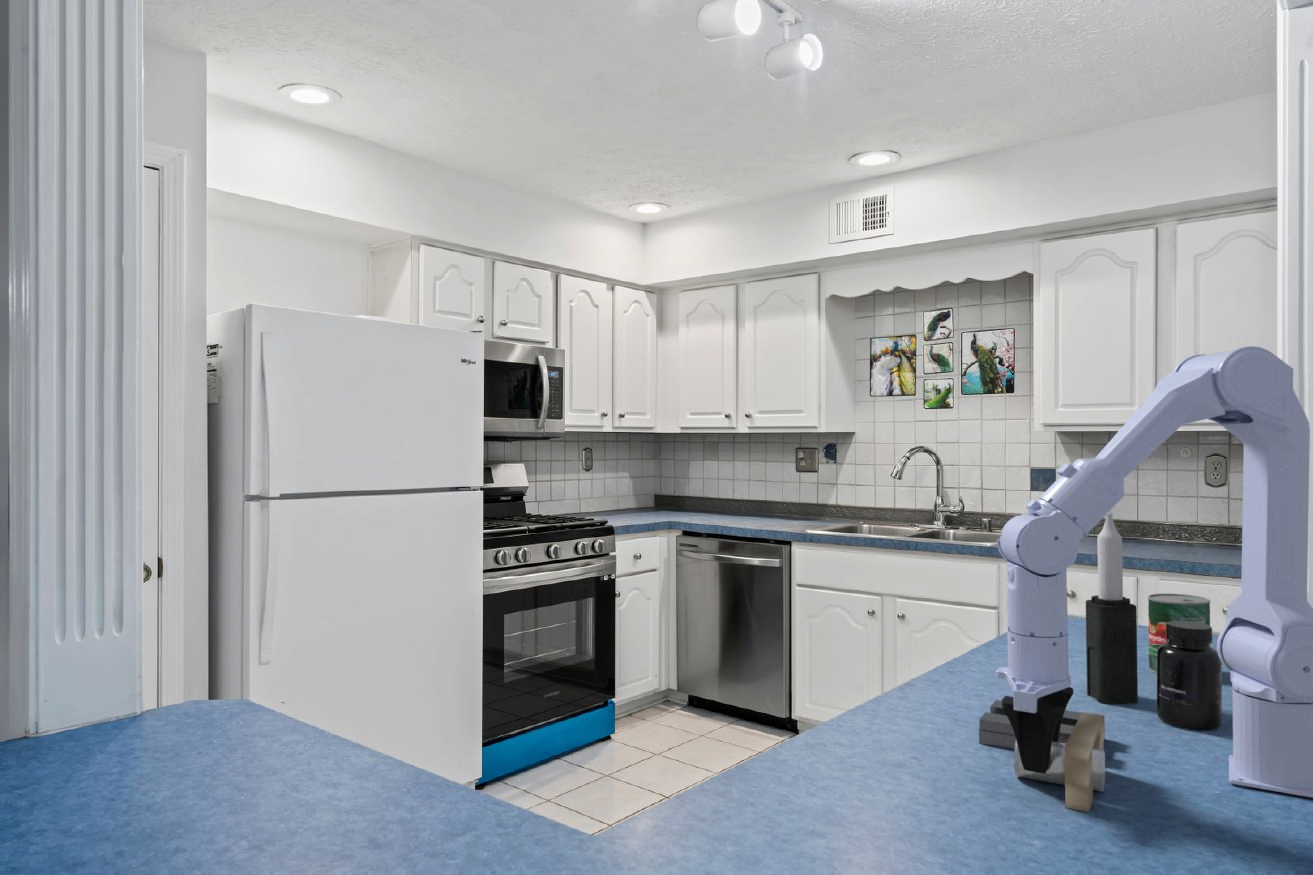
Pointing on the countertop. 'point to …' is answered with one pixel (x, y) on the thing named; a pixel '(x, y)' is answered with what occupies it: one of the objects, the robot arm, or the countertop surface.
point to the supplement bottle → (1189, 678)
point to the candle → (1111, 628)
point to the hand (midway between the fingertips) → (1039, 763)
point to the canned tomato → (1172, 617)
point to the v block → (1001, 733)
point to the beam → (1082, 760)
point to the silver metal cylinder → (1062, 767)
